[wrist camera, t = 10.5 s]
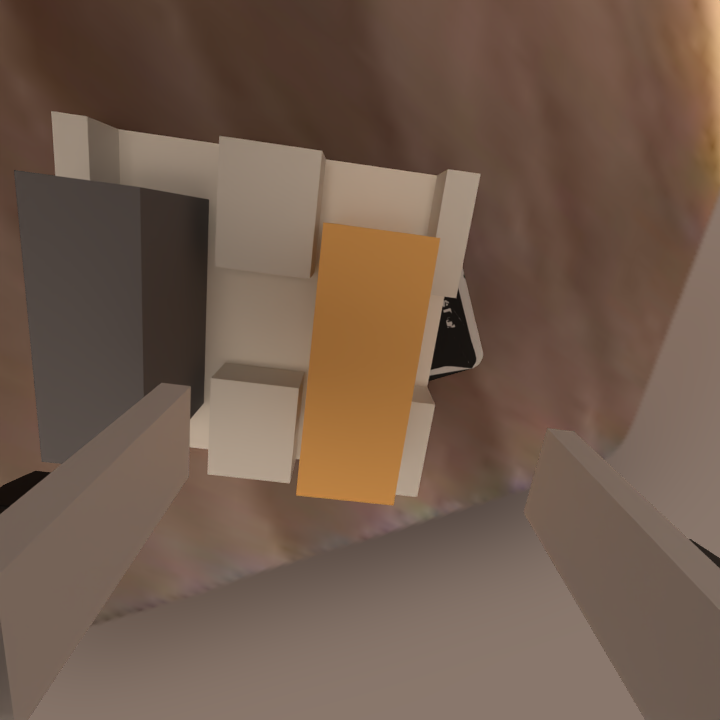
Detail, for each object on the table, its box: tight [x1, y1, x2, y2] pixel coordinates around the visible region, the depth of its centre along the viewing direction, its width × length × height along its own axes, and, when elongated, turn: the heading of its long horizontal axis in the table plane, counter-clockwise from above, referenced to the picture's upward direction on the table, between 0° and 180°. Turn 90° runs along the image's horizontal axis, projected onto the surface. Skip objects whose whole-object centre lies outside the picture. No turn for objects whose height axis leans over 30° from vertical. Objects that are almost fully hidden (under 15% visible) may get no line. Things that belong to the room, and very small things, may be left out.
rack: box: [51, 111, 480, 497], centre depth 25 cm, size 18×20×4 cm
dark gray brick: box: [14, 170, 209, 464], centre depth 22 cm, size 12×4×8 cm, turn 173°
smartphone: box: [428, 267, 483, 381], centre depth 28 cm, size 8×1×15 cm
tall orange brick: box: [296, 222, 440, 505], centre depth 22 cm, size 12×4×8 cm, turn 173°
